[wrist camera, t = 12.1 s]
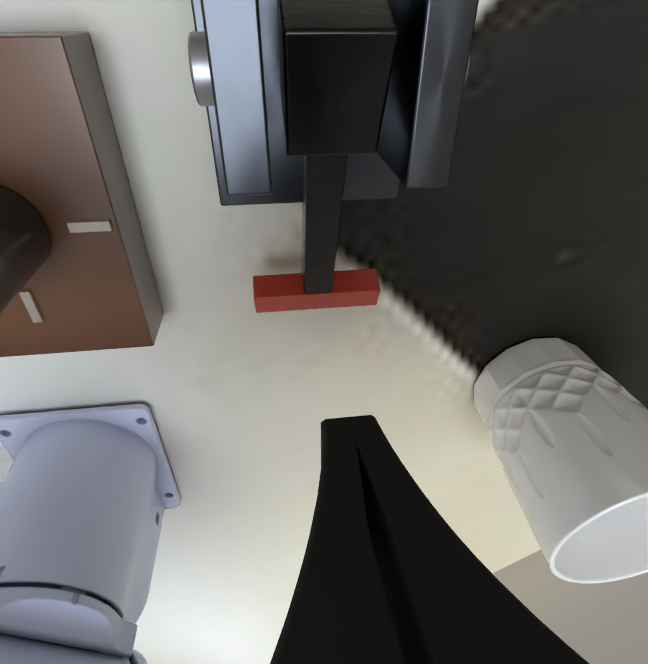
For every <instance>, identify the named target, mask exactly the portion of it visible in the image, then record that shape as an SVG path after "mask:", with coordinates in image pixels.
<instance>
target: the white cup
mask: <svg viewBox="0 0 648 664" xmlns="http://www.w3.org/2000/svg"><path fill="white" fill-rule="evenodd" d="M474 404H475V406H476V409H477V411H478V413H479V415H480V417H481V419H482V421H483V423H484V425H485V427H486V429H487V431H488V432H489V436H490V439H491V442H492V445H493V448H494V450H495V452H496V455H497V457H498V459H499V461H500V462H501V464H502V467H503V470H504V472H505V475H506V477H507V479H508V481H509V484H510V486H511V488H512V490H513V492H514V494H515V496H516V498H517V500H518V502H519V505H520V507H521V509H522V511H523V513H524V515H525V517H526V519H527V521H528V523H529V525H530V527H531V530H532V532H533V534H534V536H535V538H536V540H537V542H538V544H539V546H540V549H541V551H542V553H543V555H544V557H545V559H546V561H547V563H548V566H549V567H550V569H551V571H552V573H553V574H554V575H555V576H557V577H558V578H560V579H562V580H565V581H569V582H573V583H603V582H610V581H616V580H621V579H626V578H630V577H633V576H637V575H640V574H644V573H647V572H648V409H647V408H646V407H645V406H644V405H643V404H642V403H640V402H639V401H638V400H637V399H635V398H634V397H633V396H632V395H630V394H629V393H628V392H627V391H626V390H625V389H624V388H623V387H622V386H621V385H620V384H619V383H618V382H617V381H616V380H615V379H613V378H612V377H611V376H609V375H608V374H607V373H605V372H604V371H602V370H601V369H600V368H599V367H598V366H597V365H596V364H595V363H594V362H593V361H592V360H591V359H590V358H589V357H588V356H587V355H586V354H585V353H584V352H583V351H582V350H581V349H579V348H578V347H577V346H576V345H574V344H571V343H569V342H567V341H564V340H562V339H560V338H539V339H531V340H528V341H525V342H523V343H520V344H518V345H515V346H513V347H510V348H508V349H506V350H505V351H503V352H502V353H501V354H500V355H498V356H497V357H496V358H495V359H493V360H492V361H491V362H490V363H488V364H487V365H486V366H485V368H484V369H483V371H482V373H481V374H480V376H479V378H478V379H477V381H476V383H475V384H474Z"/></svg>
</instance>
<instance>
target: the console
mask: <svg viewBox="0 0 648 664" xmlns="http://www.w3.org/2000/svg"><path fill="white" fill-rule="evenodd" d="M0 187H3V188H5V189H7V190H10V191H11V192H13V193H15V194H17V195H18V196H20V197H21V198H22V199H24V200H25V201H26V202H27V203H29V204H30V205H31V206H32V207H33V208H34V209H35V210H36V212H37V213H38V214H39V215H40V217H41V218H42V220H43V221H44V223H45V225H46V227H47V230H48V233H49V237H50V251H49V255H48V257H47V259H46V261H45V262H44V263H43V264H42V266H41V267H40V268H39V269H38V270H37V271H36V273H35V274H34V275H33V276H32V277H31V279H30V280H29V281H28V282H27V283H26V284H25V286H24V287H23V288H22V289H21V290H20V292H19V293H18V294H17V295H16V296H15V297H14V299H13V300H12V301H11V302H10V303H9V305H8V306H7V307H6V308H5V309H4V310H3V312H2V313H1V314H0V357H7V356H21V355H34V354H48V353H62V352H75V351H89V350H103V349H117V348H130V347H144V346H153V345H154V343H155V339H156V336H157V333H158V330H159V327H160V323H161V320H162V317H163V314H164V313H163V309H162V306H161V302H160V298H159V294H158V291H157V287H156V283H155V279H154V276H153V272H152V268H151V264H150V261H149V257H148V253H147V249H146V246H145V242H144V238H143V234H142V231H141V227H140V223H139V220H138V216H137V212H136V208H135V205H134V201H133V197H132V193H131V190H130V186H129V182H128V178H127V175H126V171H125V167H124V163H123V160H122V156H121V152H120V148H119V145H118V141H117V137H116V133H115V130H114V126H113V122H112V118H111V115H110V111H109V107H108V104H107V100H106V96H105V92H104V89H103V85H102V81H101V77H100V74H99V70H98V66H97V62H96V59H95V55H94V51H93V47H92V44H91V40H90V36H89V33H88V32H0Z"/></svg>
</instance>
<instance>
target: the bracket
mask: <svg viewBox="0 0 648 664" xmlns="http://www.w3.org/2000/svg"><path fill="white" fill-rule="evenodd" d="M478 2H479V0H389V3H390V6H391V9H392V12H393V15H394V18H395V21H396V24H397V27H398V30H399V36H398V41H397V46H396V52H395V57H394V62H393V68H392V73H391V78H390V84H389V89H388V94H387V100H386V105H385V110H384V116H383V121H382V126H381V132H380V137H379V142H378V148H377V151H376V153H374V154H348V158H347V167H346V175H345V184H344V192H343V200H364V199H387V198H398V195H399V186H400V181H401V182H402V183H403V185H404V186H405V187H406V188H428V187H446V186H447V185H448V180H449V174H450V168H451V162H452V156H453V150H454V144H455V138H456V132H457V127H458V121H459V115H460V109H461V103H462V97H463V91H464V87H465V84H466V81H467V77H468V72H469V66H470V49H471V43H472V38H473V32H474V26H475V20H476V14H477V8H478ZM191 4H192V11H193V18H194V25H195V32H190V33H189V36H188V54H189V63H190V71H191V77H192V83H193V88H194V92H195V96H196V99H197V101H198V103H199V105H200V106H206V107H207V114H208V121H209V128H210V134H211V141H212V148H213V155H214V162H215V169H216V176H217V182H218V189H219V196H220V203H221V205H222V206H227V205H250V204H272V203H295V202H303V156H288V155H287V153H286V144H285V134H284V124H283V114H282V104H281V92H280V67H279V41H278V16H277V0H191Z"/></svg>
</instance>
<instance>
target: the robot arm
mask: <svg viewBox="0 0 648 664" xmlns="http://www.w3.org/2000/svg"><path fill="white" fill-rule="evenodd" d="M140 418H144V419H140ZM0 441H1V442H2V444H3V445H4V446H5V448H6V449H7V451H8V452H9V454H10V455H11V457H12V458H13V460H14V463H13V464H12V466H11V468H10V470H9V472H8V474H7V475H6V477H5V479H4V481H3V483H2V485H1V487H0V664H147V662H146V660H145V658H144V657H143V655H142V654H141V653H139V652H137V651H136V650H133V646H134V641H135V636H136V631H137V625H136V624H135V623H136V622H137V620H138V619H139V617H140V615H141V613H142V611H143V609H144V607H145V604H146V601H147V598H148V594H149V588H150V583H151V578H152V572H153V567H154V562H155V556H156V551H157V546H158V540H159V535H160V530H161V525H162V519H163V514H164V509H169V508H176V507H178V506H179V505H180V501H181V498H180V495H179V492H178V489H177V487H176V484H175V481H174V478H173V475H172V472H171V469H170V466H169V463H168V460H167V458H166V455H165V452H164V449H163V446H162V443H161V440H160V437H159V434H158V431H157V429H156V426H155V423H154V420H153V417H152V414H151V411H150V409H149V407H147V406H146V405H144V404H131V405H119V406H107V407H95V408H84V409H72V410H60V411H48V412H37V413H25V414H13V415H1V416H0ZM270 664H589V663H588V662H587V661H586V660H584V659H583V658H582V657H581V656H580V655H578V654H577V653H576V652H575V651H574V650H573V649H572V648H570V647H569V646H568V645H567V644H566V643H564V641H562V640H561V639H560V638H559V637H558V636H557V635H556V634H555V633H554V632H552V631H551V630H550V629H549V628H548V627H547V626H546V625H545V624H543V623H542V622H541V621H540V620H539V619H538V618H537V617H536V616H535V615H534V614H533V613H532V612H531V611H529V609H528V608H527V607H525V606H524V605H523V604H522V603H521V602H520V601H519V600H518V599H517V598H516V597H515V596H514V595H513V594H512V593H511V592H510V591H509V590H508V589H507V588H506V587H505V586H504V585H503V584H502V583H501V582H500V581H499V580H498V579H497V578H496V577H495V576H494V575H493V574H492V573H491V572H490V571H489V570H488V569H487V568H486V567H485V566H484V565H483V564H482V563H481V561H480V560H479V559H478V558H477V557H476V556H475V555H474V554H473V553H472V552H471V551H470V549H469V548H468V547H467V546H466V545H465V544H464V543H463V542H462V541H461V539H460V538H459V537H458V536H457V535H456V534H455V532H454V531H453V530H452V529H451V528H450V526H449V525H448V524H447V523H446V522H445V520H444V519H443V518H442V517H441V515H440V514H439V513H438V512H437V510H436V509H435V508H434V507H433V505H432V504H431V503H430V501H429V500H428V499H427V497H426V496H425V495H424V493H423V492H422V491H421V489H420V488H419V487H418V485H417V484H416V482H415V481H414V479H413V478H412V477H411V475H410V474H409V472H408V471H407V470H406V468H405V467H404V465H403V464H402V462H401V461H400V459H399V458H398V456H397V454H396V453H395V451H394V450H393V448H392V447H391V445H390V443H389V442H388V440H387V438H386V437H385V435H384V433H383V431H382V430H381V428H380V426H379V424H378V422H377V420H376V418H375V417H374V416H372V415H366V416H355V417H344V418H333V419H325V420H324V421H322V422H321V474H320V481H319V489H318V496H317V501H316V506H315V511H314V516H313V521H312V526H311V531H310V535H309V539H308V544H307V548H306V552H305V556H304V559H303V563H302V567H301V570H300V574H299V578H298V581H297V584H296V588H295V591H294V594H293V597H292V601H291V604H290V607H289V611H288V614H287V617H286V620H285V623H284V626H283V629H282V632H281V634H280V637H279V640H278V643H277V646H276V649H275V651H274V654H273V657H272V660H271V663H270Z"/></svg>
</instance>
